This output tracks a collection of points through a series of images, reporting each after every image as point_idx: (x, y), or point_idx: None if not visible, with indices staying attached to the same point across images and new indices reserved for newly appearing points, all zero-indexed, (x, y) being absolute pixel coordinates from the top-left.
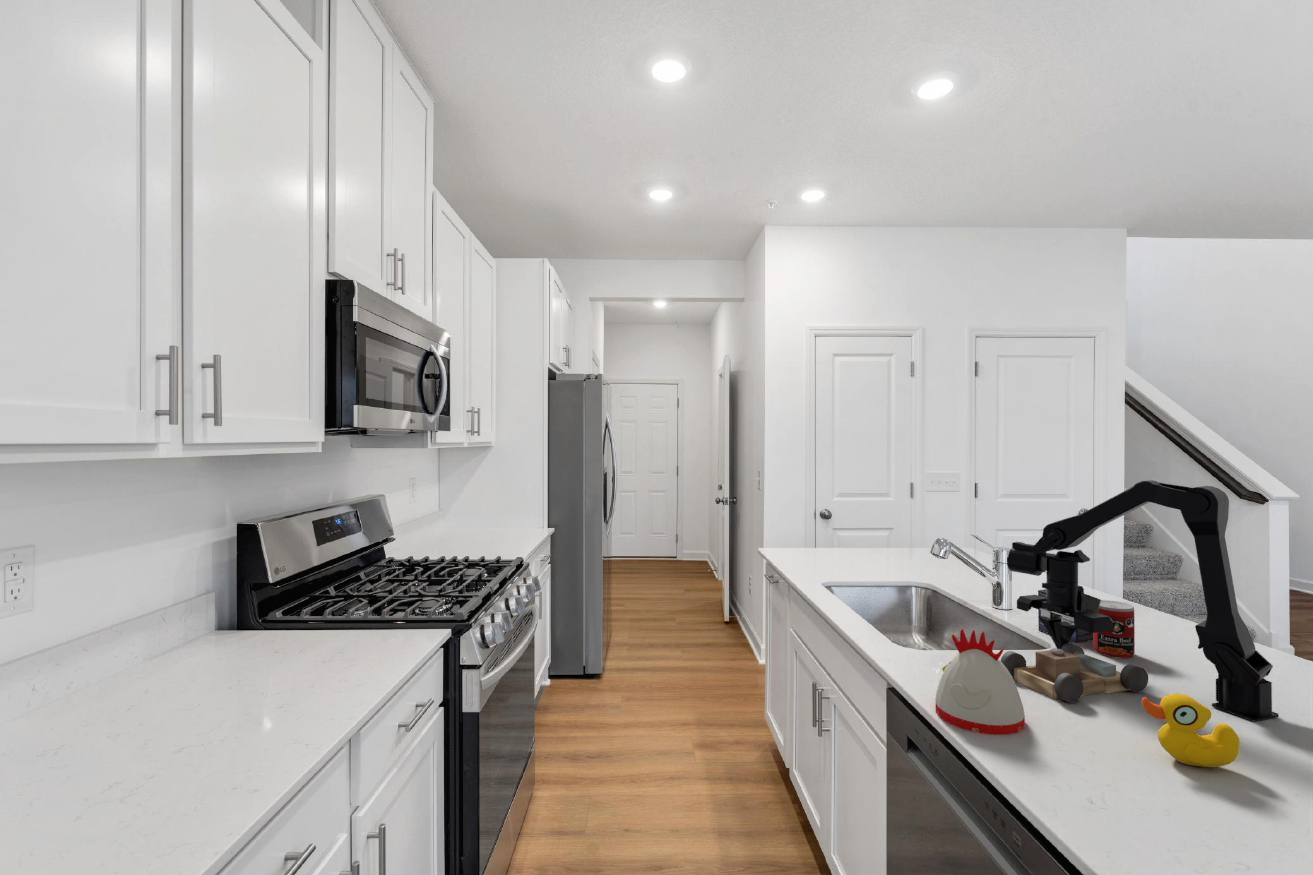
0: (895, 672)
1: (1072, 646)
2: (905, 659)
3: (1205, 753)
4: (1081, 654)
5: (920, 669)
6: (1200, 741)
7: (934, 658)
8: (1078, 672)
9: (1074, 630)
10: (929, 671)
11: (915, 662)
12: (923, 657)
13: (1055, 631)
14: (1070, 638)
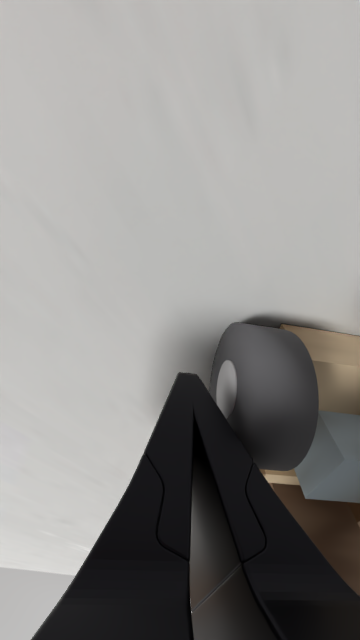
0: (74, 573)
1: (285, 470)
2: (11, 551)
3: None
4: (342, 471)
5: (72, 557)
6: None
7: (14, 528)
8: (352, 525)
9: (330, 585)
10: (86, 555)
11: (32, 550)
12: (3, 535)
13: (193, 600)
14: (253, 469)
